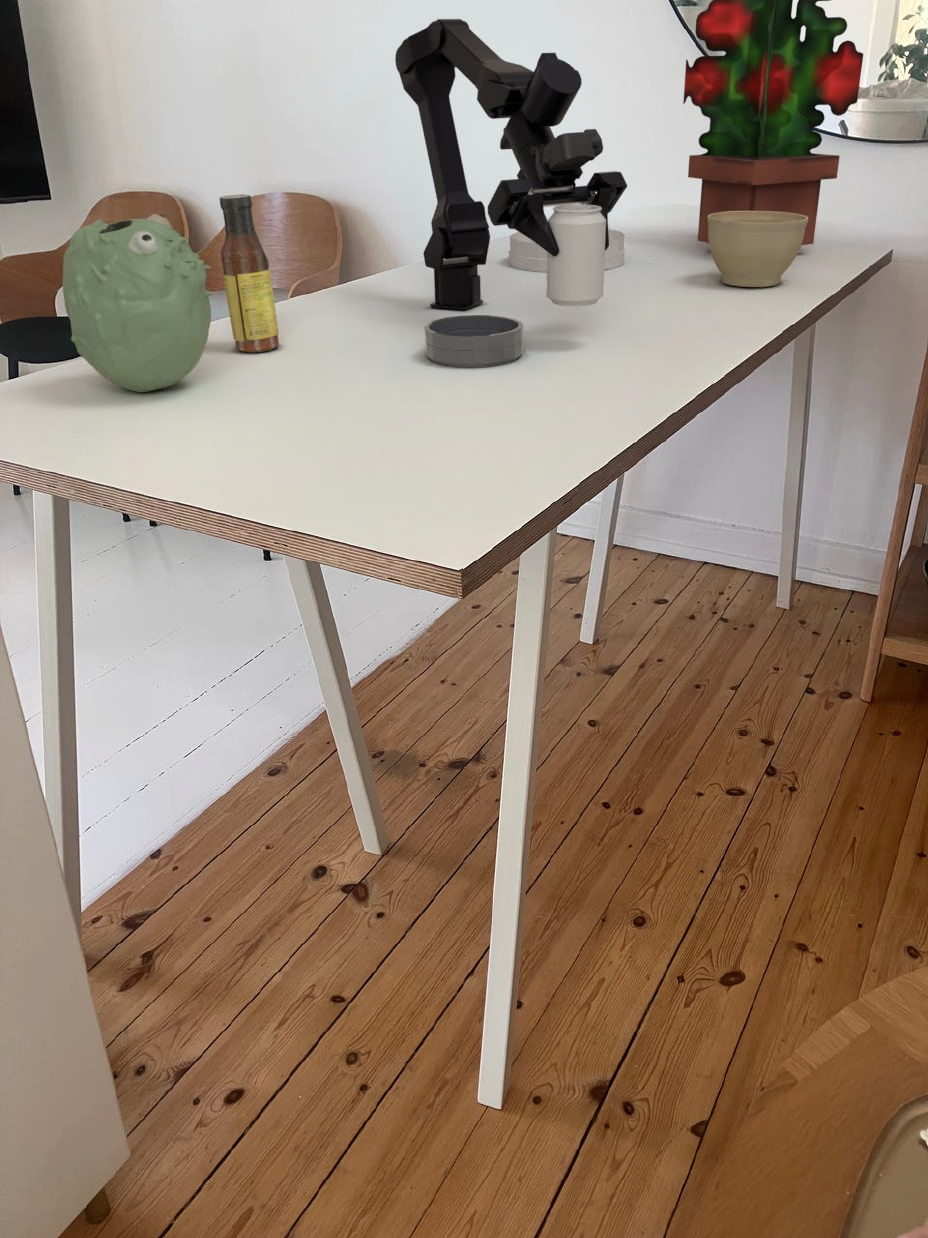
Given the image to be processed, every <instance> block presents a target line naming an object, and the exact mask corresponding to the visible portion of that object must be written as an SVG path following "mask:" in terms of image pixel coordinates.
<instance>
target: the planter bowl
mask: <svg viewBox="0 0 928 1238" xmlns="http://www.w3.org/2000/svg"><path fill="white" fill-rule="evenodd" d="M807 222H808V217H807V216H804V215H800V214H794V213H787V212H774V211H728V212H718V213H713V214H709V215H708V240H709V243H708V246H709V251H710V254H711V257H712V260H713V262H714V264H715V266H716V268H717V271H719V273H720V275H721V277H720V278H721V279H720V280H721V282H722V283H723V284H726V285H728V286H734V287H744V288H765V287H767V288H768V287H774V286H776V285H779V284H780V281H781V278H782V275H783V274H784V273H785V272H786V271H787V270H788V269H789V268H790V266H791V265H792V264H793V262H794V261H795V259H796V257H797V255H798V253H799V251H800V249H801V246H802V245H801V244H802V241H803V237H804V233H805V227H806V225H807Z"/></svg>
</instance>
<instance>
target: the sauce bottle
mask: <svg viewBox="0 0 928 1238" xmlns="http://www.w3.org/2000/svg"><path fill="white" fill-rule="evenodd" d="M219 204H220V205H219V206H220V208H221V210H222V214H223V221H224V222H223V223H224V230H225V237H224V242H223V244H222V247H221V250H220V259H221V265H222V270H223V273H222V276H223V282H224V288H225V294H226V295H225V296H226V299H227V300H226V302H227V307H228V313H229V320H230V325H231V332H232V339H233V340H234V342H235V343H234V344H235V349H236V350H237V351H238V352H243V353H263V352H269V351H272V350H275V349H276V348H278V347H279V346H280V342H279V333H280V332H279V331H280V330H279V325H278V317H277V311H276V304H275V299H274V290H273V283H272V276H271V269H270V263H269V259H268V257H267V255H266V253H265V251H264V248H263V246H262V243H261V241H260V239H259V236H258V234H257V232H256V229H255V224H254V220H253V211H252V207H253V202H252V195H250V194H244V193H242V194H229V195H228V194H227V195H223V196H219Z"/></svg>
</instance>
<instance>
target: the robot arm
mask: <svg viewBox="0 0 928 1238" xmlns="http://www.w3.org/2000/svg"><path fill="white" fill-rule="evenodd" d="M394 58H395V60H394V61H395V67H396V70H397V72H398V73H399V78H400V81H401V84H402V87H403V90H404V91H405V93H406V94H407V95H408V96H409V97H410V99H412V101H413V102H414V103H415V105H416V106H417V108H418V113H419V119H420V122H421V128H422V133H423V137H424V142H425V147H426V152H427V156H428V162H429V167H430V172H431V178H432V181H433V185H434V186H433V187H434V192H435V198H436V202H437V203H436V205H435V210H434V214H433V216H432V219H431V221H430V222H431V223H430V225H431V231H432V233H431V236H430V237H429V240H428V242H427V243H426V246H425V248H424V250H423V260H424V265H425V267H427V268H430V269H433V283H434V302H432V303H430V304H429V307H430V308H432V309H433V308H435V309H445V310H447V309H448V310H459V311H467V310H469V309H472V308H475V307H476V306H479V305H481V304H483V303H484V300H483V299H482V296H481V290H482V289H481V288H482V287H481V276H480V274H479V271H478V270H479V269H478V266H480V265H481V266H485V265H486V264H487V260H488V254H489V249H490V248H489V246H490V242H491V241H490V240H491V233H490V225H489V223H488V220H487V215H488V217H489V219H490V222H491V224H492V225H493V226H494V227H495V226H497V227H498V226H507V228H508V229H509V230H515V231H517V232H520V233H521V234H523V235H525V236H526V237H528V238H529V239H531V240H532V241H534V242H535V243H536V244H538V245H539V246H540V247H542V248H543V249H544V250H546V251H547V252H548V253H550V254H551V255H552V256H557V255H558V253H559V248H558V245H557V241H556V239H555V237H554V234H553V232H552V230H551V227H550V225H549V223H548V218H547V216H546V213H545V209H544V208H547V207H549V208H551V207H556V206H561V205H577V204H581V205H595V206H600V207H601V208H602V210H601V211H600V213H601V214H602V215H603V217H604V218H605V219H606V234H605V251H606V250H607V248H608V247H609V234H608V229H609V217H608V216H609V214H610V213H611V212H612V211H613V209H614V207H615V206H616V205H617V203H618V201H619V200H620V198H621V197H622V195H623V194H624V192H625V190H627V188H628V183H627V182H626V180H625V177H624V175H623V174H622V172H621V171H616V170H613V171H612V170H611V171H600V172H593V174H592V176H591V178H590V179H589V181H588V183H587V184H586V185H579V186H577V184H576V180H579V179H580V178H581V177H582V175H583V174H584V171H583V169H582V167H583V166H584V165H586V164H587V163H589V162H590V161H591V162H592V161H594V160H595V159H596V158H597V157H598V156H599V155H601V154H602V153H603V151H604V145H603V139H602V137H601V135H600V134H599V132H598V130H597V128H587V129H584V130H583V131H577V132H565V133H561V134H559V135H557V136H556V137H555V135H554V133H553V130H552V128H551V127H556V126H558V125H560V124H562V122H563V120H564V119H565V116H566V114H567V113H568V111H569V109H570V107H571V105H572V103H573V102H574V100H575V98H576V97H577V94H578V93H579V91H580V89H581V87H582V84H583V82H582V77H581V74H580V72H579V71H578V70H577V69H576V68H574V67H573V66H572V65H571V64H569V63H568V62H566V61H564V60H562V59H559V58H558V56H557V53H556V52H541V53H540V55H539V57H538V60H537V63H536V65H535V68H534V71H533V70H532V69H529V68H527V67H526V66H524V65H521V64H518V63H514V62H510V61H506V60H504V59H502V58H501V57H500V56H499V55H498V54H497V53H496V52H495V51H494V50H493V49H492V48H490V46H489V45H488V44H486V43H485V42H484V41H483V40H482V39H481V38H480V37H479V36H478V35H476V33H474V31H472V30H471V28H470V25H469V24H468V22H467V21H466V20H463V19H461V18H438V19H435V20H433V21H431V22H430V23H429V25H428V26H427V27H426V28H423V29H421V30H419V31H417V32H415V33H413V34H411V35H410V36H408V37H406V38H405V39H404V40H403V41H402V43H401V44H400V45H399V47H398V48H397V49H396V51H395V57H394ZM456 69H457V70H458V71H460V73H461V74H462V75H463V76H464V77H465V78H466V79H467V80H468V81H469V82H470V83H471V84H472V85H473V86H474V87H475V88H476V90H477V94H476V101H477V103H478V104H479V105H480V107H481V109H482V110H483V111H484V113H485V114H486V116H487V117H488V118H490V119H491V120H497V119H509V120H507V123H506V125H505V127H503V130H502V131H503V133H502V136H501V138H500V141H499V149H500V150H503V151H504V150H512V153H513V155H514V157H515V159H516V162H517V165H518V166H519V170H518V172H517V174H516V177H517V178H513V179H512V178H511V179H501V180H500V182H499V183H498V185H497V187H496V189H495V191H494V193H493V195H492V197H491V199H490V201H489V203H488V204H487V215H486V207H485V205H484V203H483V202H482V200H478V201H477V200H474V198H472V196H471V195H470V194H469V189H468V185H467V179H466V175H465V169H464V164H463V160H462V155H461V149H460V145H459V144H460V143H459V140H458V135H457V129H456V124H455V119H454V115H453V109H452V105H451V99H450V95H451V92H452V88H453V86H454V83H455V80H456V77H457V76H456Z"/></svg>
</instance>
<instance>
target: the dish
mask: <svg viewBox="0 0 928 1238" xmlns="http://www.w3.org/2000/svg"><path fill="white" fill-rule="evenodd" d="M608 234H609V247H608V248H607V250H606V251H605V258H604V271H606V270H612V269H615V268H618V267H619V268H620V267H621V266H623V265H624V264H625V254H626V253H625V252H626V249H625V247H624V246H625V233H623V232H622V231H619V230H615V229H609V228H608ZM508 264H509V266H510V267H512V268H514V269H517V270H523V271H527V272H537V273H547V251H546V250H544V249H543V248H542V247H540V246H539V245H538V244H536V243H535V242H534V241H532V240H531V239H529V238H528V237H526V236H525V235H523V234H521V233H520V232H518V231H517V232H514V233H512V234H510V236H509V251H508Z"/></svg>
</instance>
